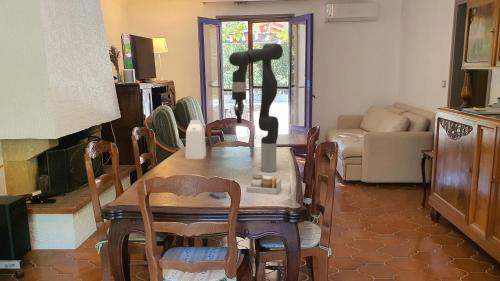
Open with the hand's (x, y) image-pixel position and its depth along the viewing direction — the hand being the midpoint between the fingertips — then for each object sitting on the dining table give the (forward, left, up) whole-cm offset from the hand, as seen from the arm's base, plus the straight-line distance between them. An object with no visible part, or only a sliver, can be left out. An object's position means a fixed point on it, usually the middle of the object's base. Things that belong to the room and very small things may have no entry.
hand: (239, 123), depth 214 cm
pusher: (+14, +22, -32) cm, 41 cm away
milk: (-51, -44, -32) cm, 75 cm away
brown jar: (+14, +18, -32) cm, 39 cm away
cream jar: (+14, +13, -32) cm, 37 cm away
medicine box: (+29, -3, -32) cm, 43 cm away
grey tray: (+14, +16, -32) cm, 39 cm away
